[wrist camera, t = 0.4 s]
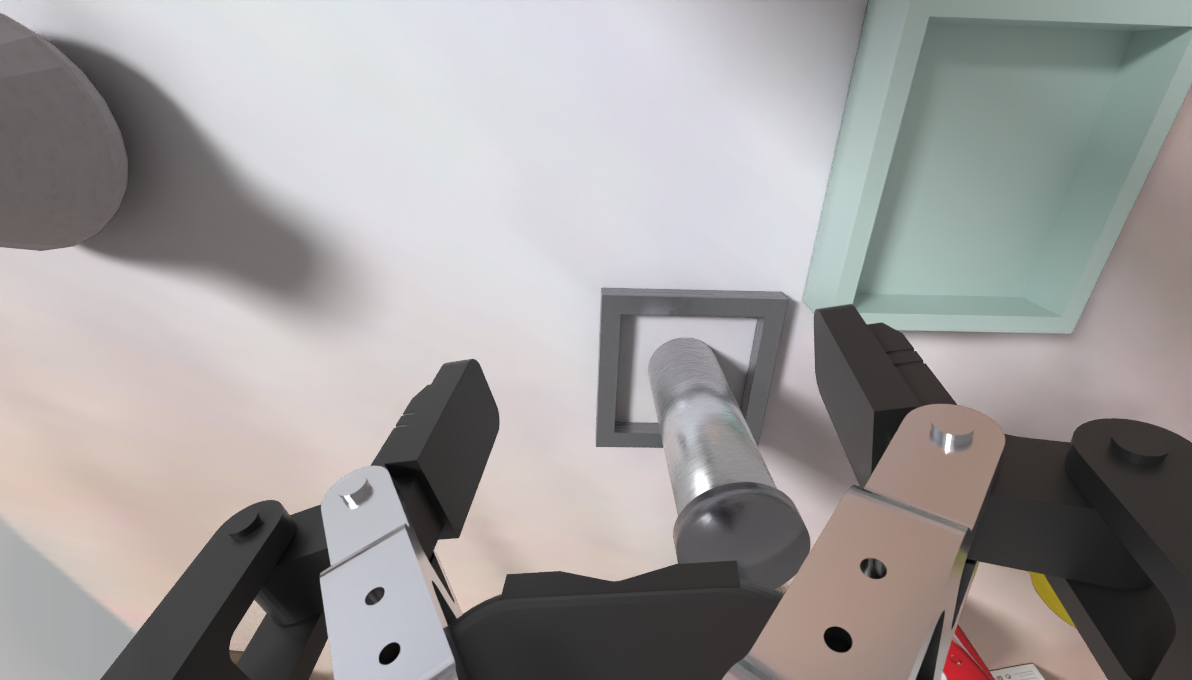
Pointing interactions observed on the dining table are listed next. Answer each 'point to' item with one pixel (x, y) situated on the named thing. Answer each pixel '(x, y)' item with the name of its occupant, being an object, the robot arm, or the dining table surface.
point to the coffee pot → (53, 147)
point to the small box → (1018, 673)
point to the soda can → (964, 661)
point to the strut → (720, 472)
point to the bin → (994, 157)
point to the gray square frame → (693, 304)
